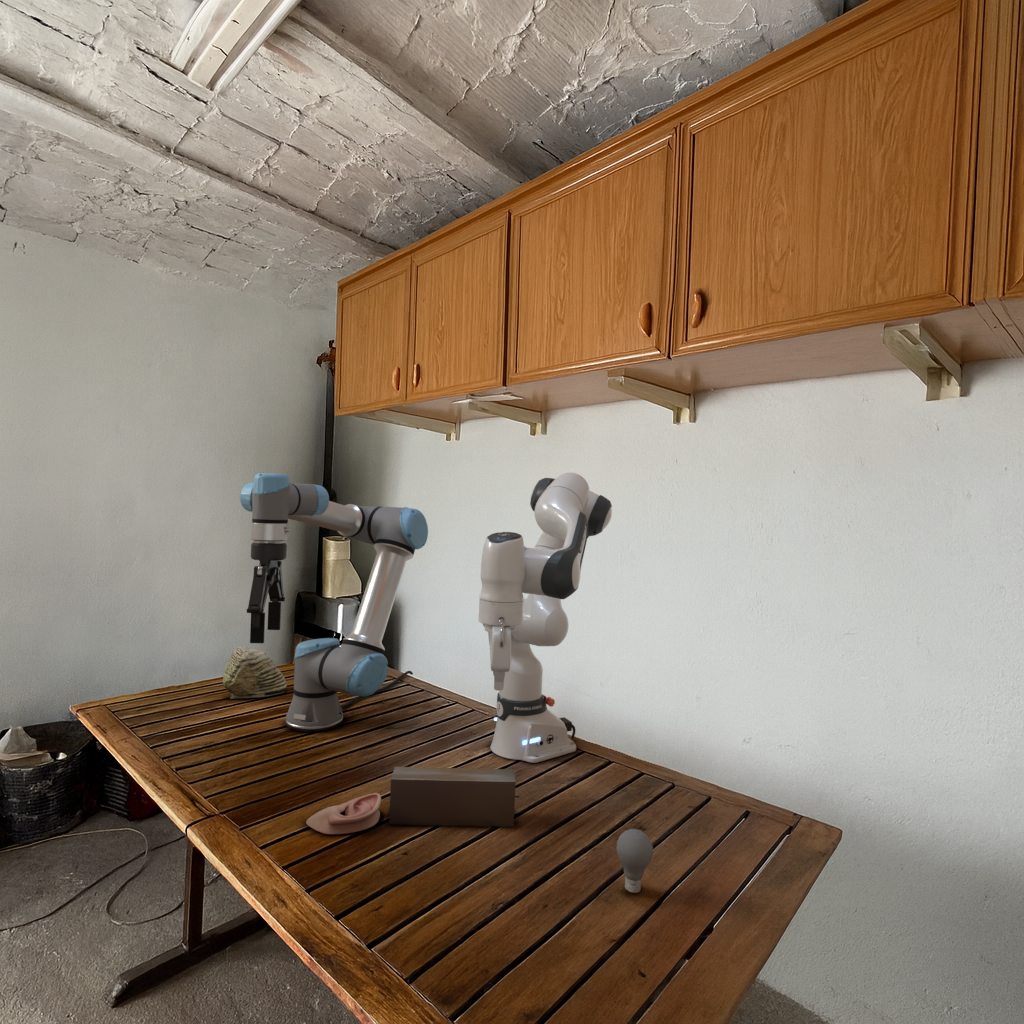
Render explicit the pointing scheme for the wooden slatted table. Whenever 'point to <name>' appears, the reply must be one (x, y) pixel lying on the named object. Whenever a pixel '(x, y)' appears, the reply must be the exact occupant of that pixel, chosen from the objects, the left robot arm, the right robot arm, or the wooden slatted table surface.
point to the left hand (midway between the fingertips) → (265, 636)
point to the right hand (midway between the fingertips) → (497, 682)
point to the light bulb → (634, 857)
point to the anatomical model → (347, 816)
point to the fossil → (252, 674)
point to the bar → (452, 797)
